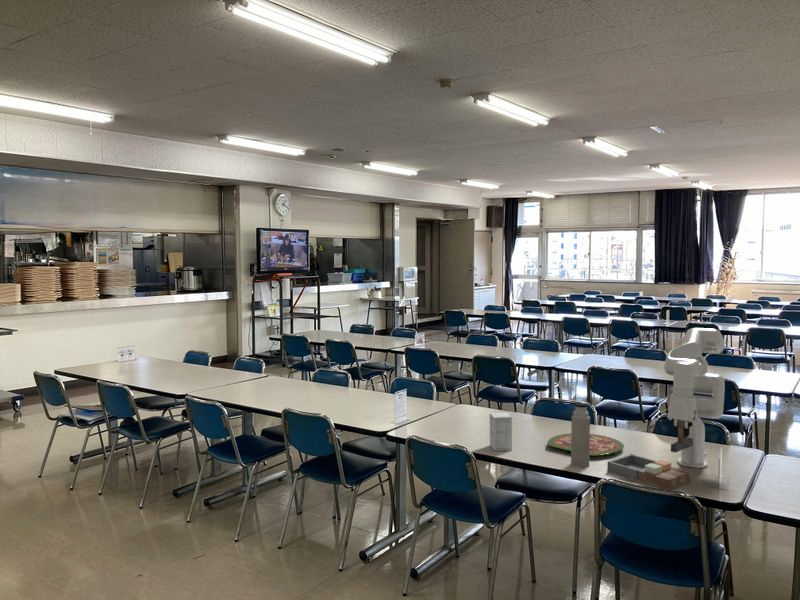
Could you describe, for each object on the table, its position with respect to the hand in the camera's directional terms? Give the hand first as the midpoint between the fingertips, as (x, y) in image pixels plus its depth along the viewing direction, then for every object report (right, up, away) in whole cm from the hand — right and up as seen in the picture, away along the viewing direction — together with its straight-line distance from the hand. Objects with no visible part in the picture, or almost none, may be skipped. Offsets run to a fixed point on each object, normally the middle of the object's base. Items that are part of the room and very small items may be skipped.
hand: (682, 435), depth 257 cm
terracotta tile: (-3, -16, +11) cm, 20 cm away
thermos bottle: (-34, -19, +28) cm, 48 cm away
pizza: (-23, -18, +55) cm, 62 cm away
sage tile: (-9, -17, +7) cm, 20 cm away
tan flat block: (-5, -20, +7) cm, 22 cm away
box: (-13, -20, +19) cm, 30 cm away
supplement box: (-66, -18, +54) cm, 87 cm away
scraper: (0, -5, 0) cm, 5 cm away
